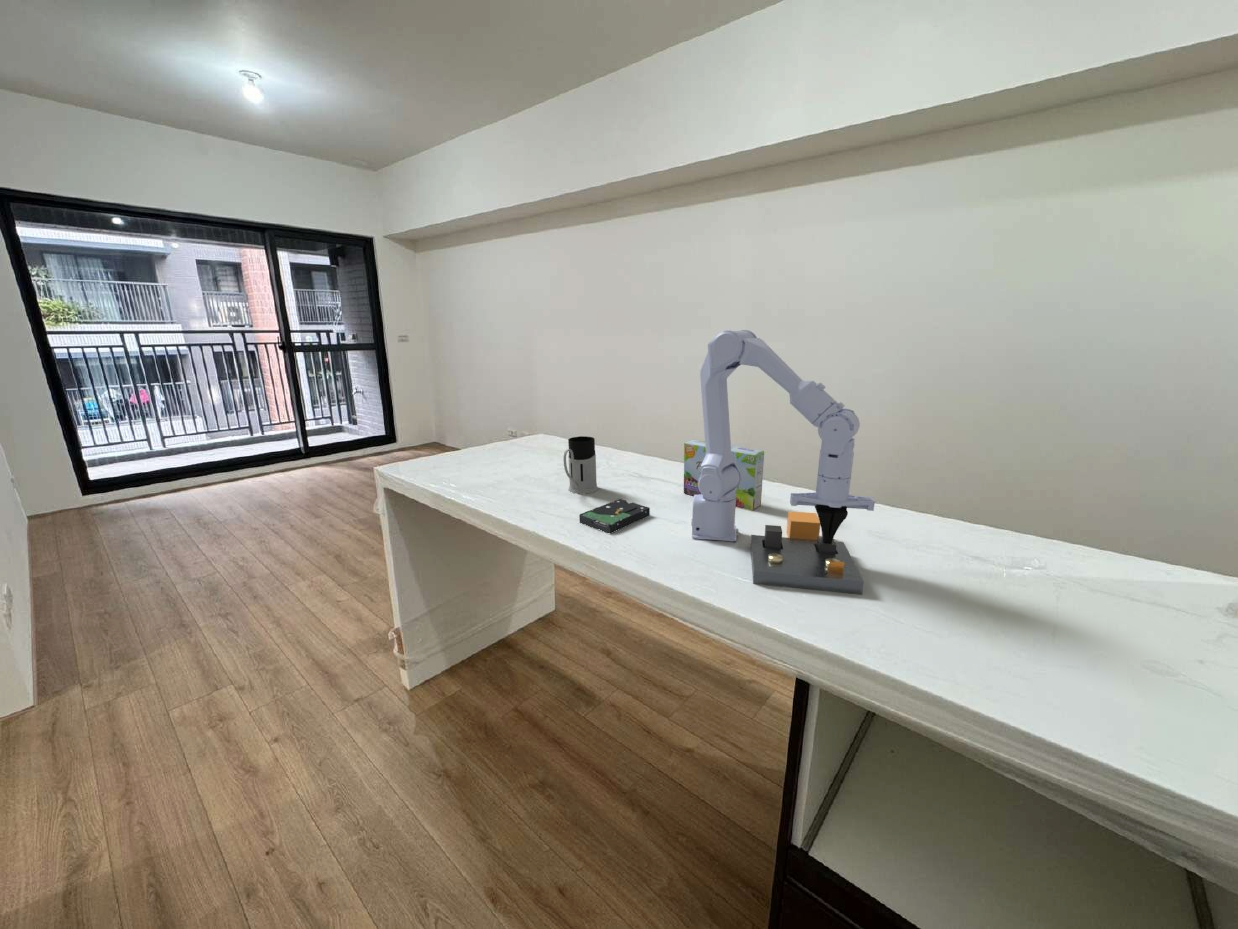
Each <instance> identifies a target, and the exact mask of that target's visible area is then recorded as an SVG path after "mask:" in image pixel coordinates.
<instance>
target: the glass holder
mask: <svg viewBox="0 0 1238 929" xmlns="http://www.w3.org/2000/svg"><path fill="white" fill-rule="evenodd" d="M567 455H568V458H567ZM596 455H597V454H596V443H595V438H594V437H593V436H581V435H580V436H574V437H569V438H568V448H567V449H566V450H565V451H564V454H563V467H564V470H565V474H566V476H567V477H568V479H569V487H568V492H569V491H570V493H571V492H572V494H575V493H582V494H581V495H584V494H583V493H588V494H592V493H594V492H597V491H598V490H599V487H598V484H597V457H596ZM567 459H568V466H567Z"/></svg>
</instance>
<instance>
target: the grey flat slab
mask: <svg viewBox="0 0 1238 929" xmlns="http://www.w3.org/2000/svg"><path fill="white" fill-rule="evenodd" d="M764 537H765V535H759V534H757V535H756V534H751V535H750V556H751V571H752V572H751V573H752V584H756V585H763V586H774V587H783V586H785V587H784V588H795V589H803V590H804V589H805V590H813V591H814V590H815V591H822V592H824V591H826V592H831V593H832V592H834V593H842V594H843V593H845V594H855V595H863V590H864V589H863V588H864V582H865V581H864V579H863V577H862V575H861V574H860V571H859V569H858V567H857V566H856V563H855V561H854V560H853V558H852V555H851V554H850V551H849V550H848V548H847V546H846V544H845V542H844V541H836V540H834V541H835V543H836V545H837V546H836V554H832V553H820V552H817V551H816V545H817V540H811V539H798V538H788V537H783V536H782V542H781V549H772V548H765V546H764Z"/></svg>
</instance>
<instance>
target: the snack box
mask: <svg viewBox="0 0 1238 929" xmlns="http://www.w3.org/2000/svg"><path fill="white" fill-rule="evenodd" d="M683 447H684V448H683V457H684V458H683V494H684V493H685V494H684V495H689V496H693V497H694V495H699V494H701V493H700V491H699V488H698V479H699V477H700V474H701V464H702V462H703V460H704V458H705V456H706V447H705V440H700V439H699V440H698V439H692V440H689V441H685V442H684V446H683ZM731 452H732V453H733V455H734V456H735V457H736V462H737V466H738V468H739V470H740V472H741V477H742V478H741V482H740V484H739V486H738V487H736V491H735V492H736V508H740V509H743V508H744V509H743V510H747V511H751V512H753V511H754V510H755V509H757V508H758V507H761V505H762V492H763V476H764V462H765V451H764V450H762V449H761V450H760V449H755V448H750V447H749V448H748V447H743V446H736V445H731Z"/></svg>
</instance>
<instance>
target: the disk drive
mask: <svg viewBox="0 0 1238 929" xmlns="http://www.w3.org/2000/svg"><path fill="white" fill-rule="evenodd" d="M650 510H651V508H650V507H648V506H645V505H642V504H639V503H635V502H628V501H627V500H625V499H623V498H619V499H616V500H613V501H611V502H609V503H606V504H603V505H601V506H597V507H595V508H593V509H590V510H587V511H584V512H583V513H580V514H579V517H578V518H579V523H580V524H581V523H582V525H584V524H586V525H585V526H587V525H588V526H587V527H589V526H590V527H589V528H592V527H593V529H595V530H597V529H600V530H602V531H601V532H603V531H604V533H606V534H608V533H610V534H613V533H614V531H615V532H617V531H619V530H621V529H623V527H624V528H625V526H626V527H629V526H630V525H633V524H634V523H637V522H639V521H642V520H643V518H644V519H646V518H648V517H650V515H651V511H650ZM618 529H619V530H618ZM600 530H599V531H600ZM616 530H617V531H616ZM612 532H613V533H612Z"/></svg>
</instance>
